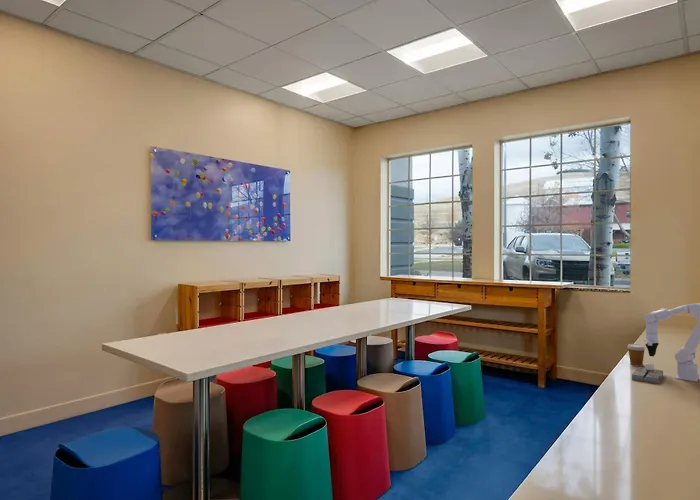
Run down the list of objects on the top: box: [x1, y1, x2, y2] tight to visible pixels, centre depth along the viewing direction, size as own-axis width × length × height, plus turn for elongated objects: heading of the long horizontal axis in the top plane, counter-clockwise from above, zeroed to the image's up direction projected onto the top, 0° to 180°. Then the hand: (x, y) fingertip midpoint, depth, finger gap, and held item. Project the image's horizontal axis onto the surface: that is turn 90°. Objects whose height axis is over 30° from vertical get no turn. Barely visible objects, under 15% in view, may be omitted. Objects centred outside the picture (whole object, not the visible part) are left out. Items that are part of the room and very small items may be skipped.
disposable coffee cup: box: [627, 343, 646, 367], centre depth 271 cm, size 10×10×12 cm
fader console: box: [631, 366, 664, 385], centre depth 244 cm, size 12×19×3 cm, turn 137°
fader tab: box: [644, 362, 655, 372], centre depth 249 cm, size 4×3×5 cm
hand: (652, 355), depth 256 cm, fingers open, 4 cm apart
